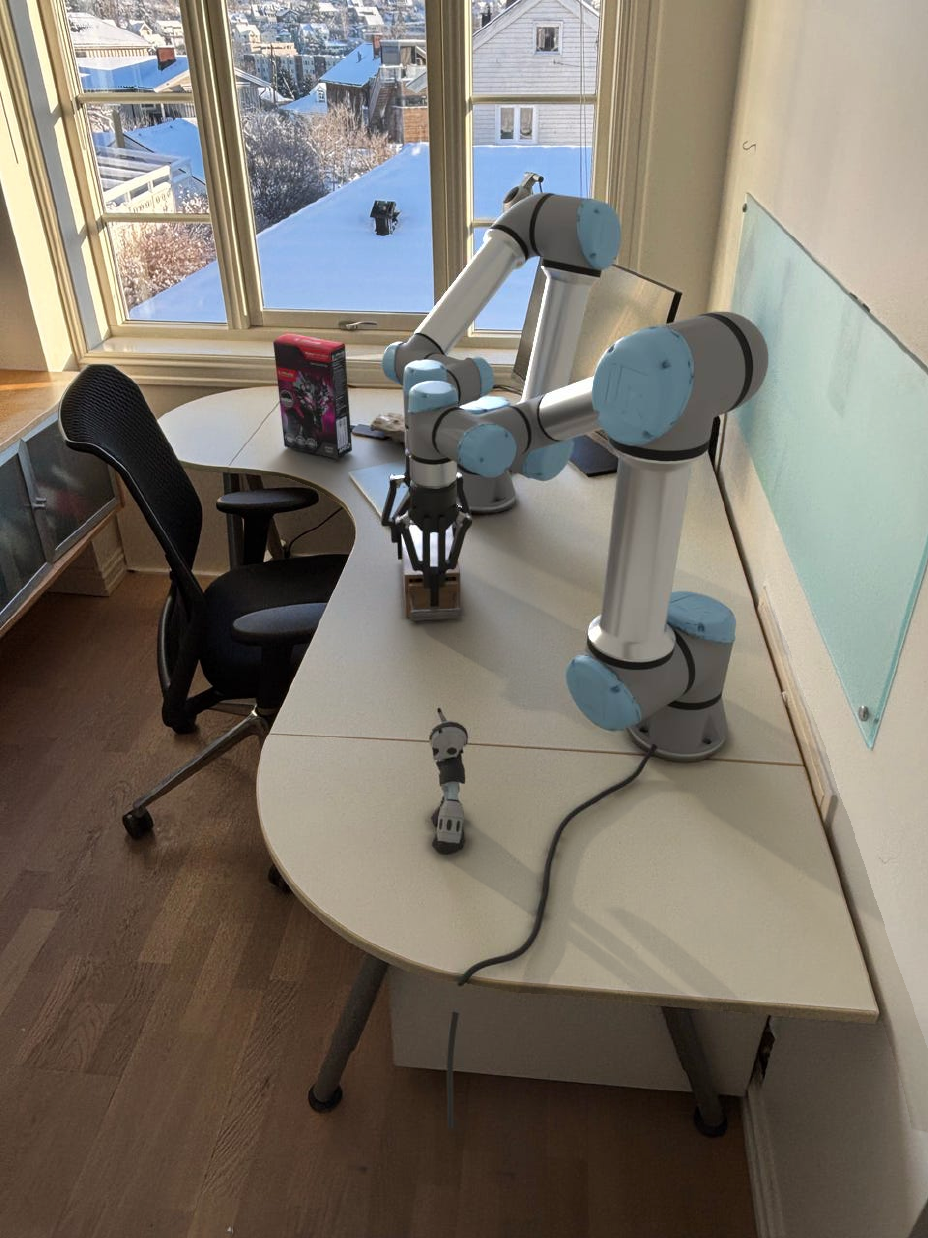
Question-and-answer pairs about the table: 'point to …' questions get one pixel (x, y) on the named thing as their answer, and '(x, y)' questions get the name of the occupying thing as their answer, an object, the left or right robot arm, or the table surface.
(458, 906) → the table surface
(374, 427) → the stone
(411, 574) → the wooden drawer box
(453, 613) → the wooden drawer
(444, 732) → the robot
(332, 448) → the graphics card box
